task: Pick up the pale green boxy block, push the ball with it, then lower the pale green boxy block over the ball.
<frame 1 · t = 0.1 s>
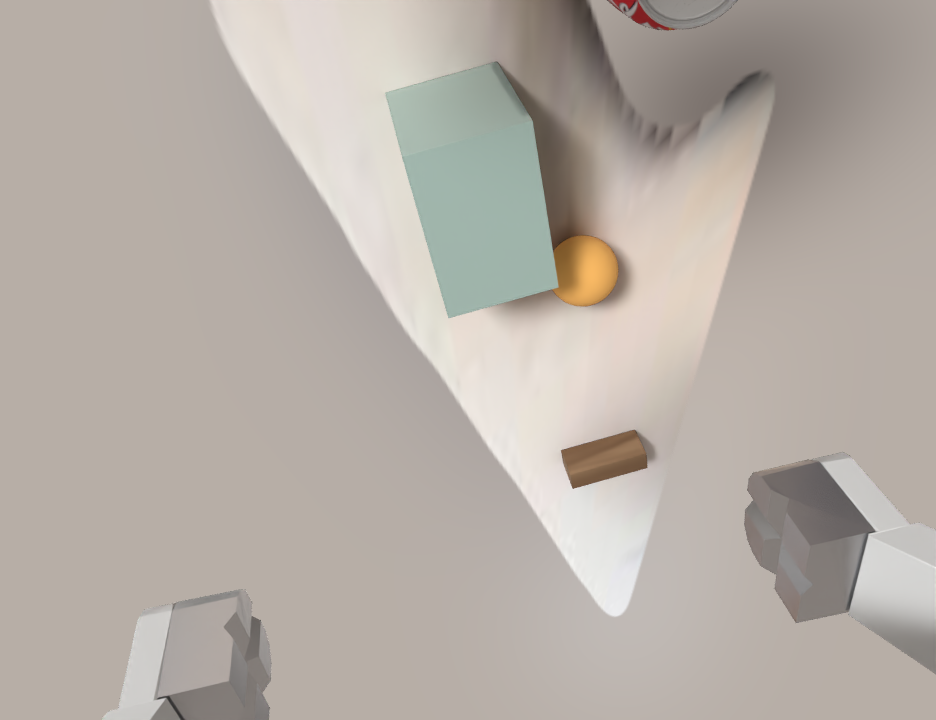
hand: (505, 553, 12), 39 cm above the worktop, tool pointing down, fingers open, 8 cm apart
ball: (582, 271, 54), on the worktop
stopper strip: (598, 447, 71), on the worktop
pale green boxy block: (460, 158, 50), on the worktop
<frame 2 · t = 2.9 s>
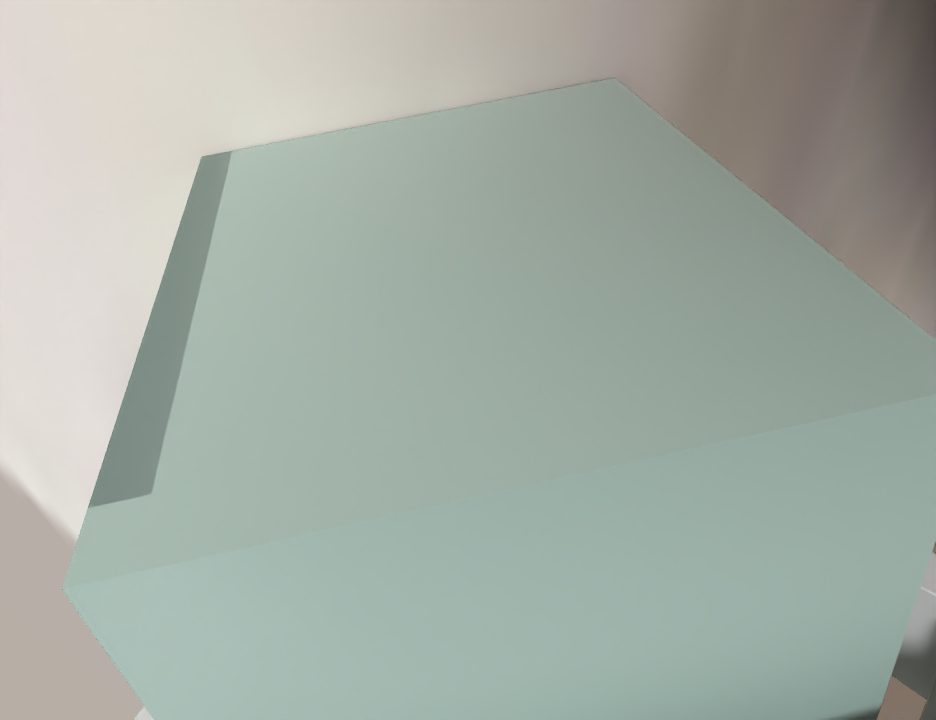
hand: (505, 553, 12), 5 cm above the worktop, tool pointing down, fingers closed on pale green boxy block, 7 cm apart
pale green boxy block: (458, 377, 16), on the worktop, touching gripper
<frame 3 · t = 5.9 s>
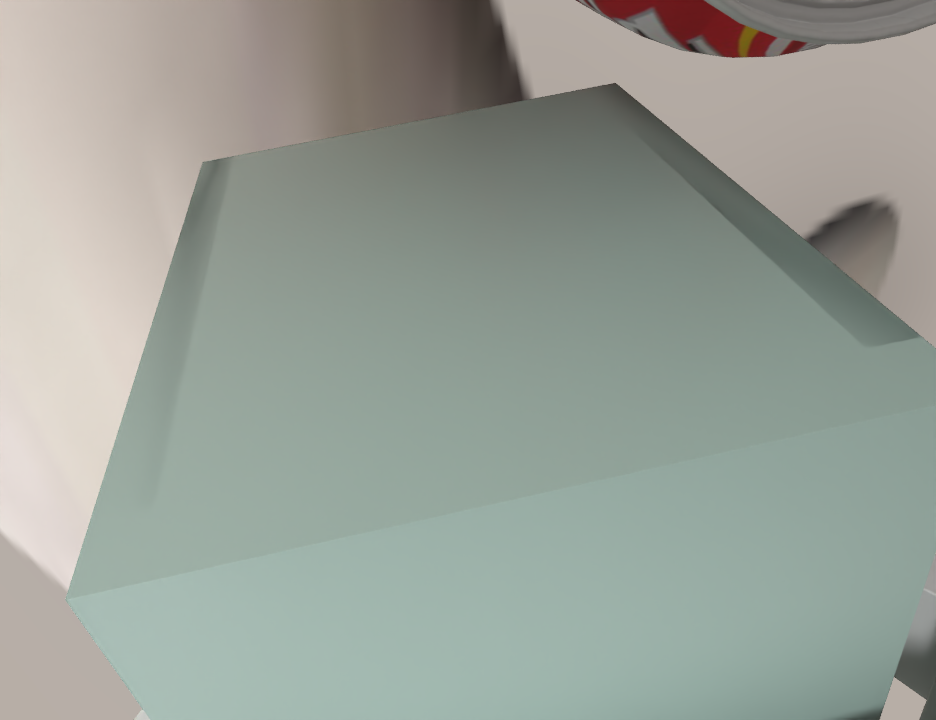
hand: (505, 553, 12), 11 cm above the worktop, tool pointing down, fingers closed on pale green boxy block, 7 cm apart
pale green boxy block: (459, 381, 16), point 7 cm above the worktop, touching gripper
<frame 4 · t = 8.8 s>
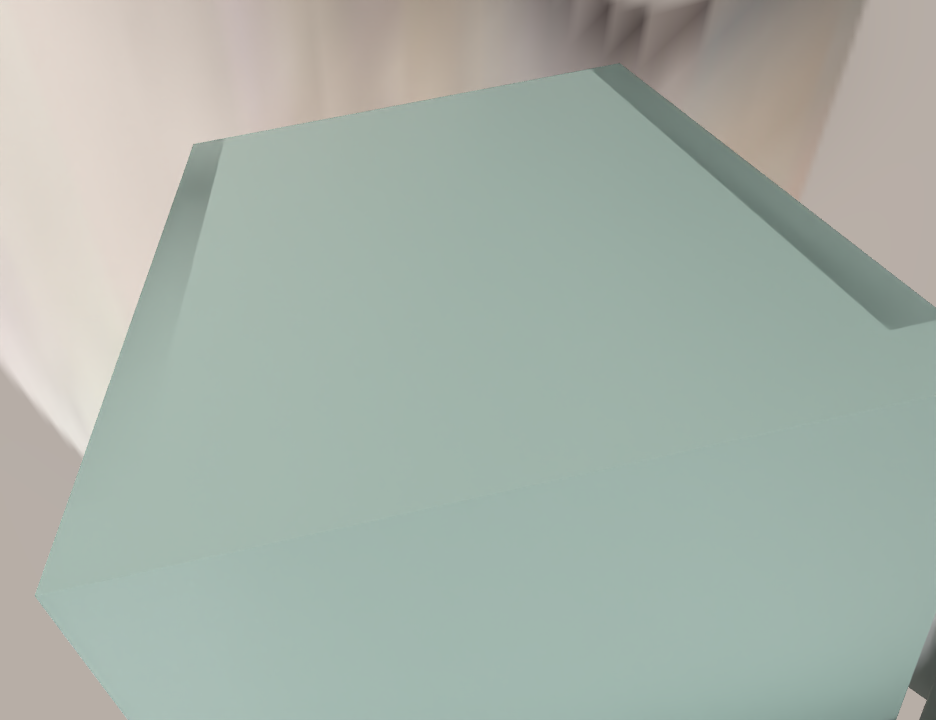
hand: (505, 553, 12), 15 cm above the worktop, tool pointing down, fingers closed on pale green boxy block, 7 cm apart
pale green boxy block: (458, 372, 16), point 10 cm above the worktop, touching gripper
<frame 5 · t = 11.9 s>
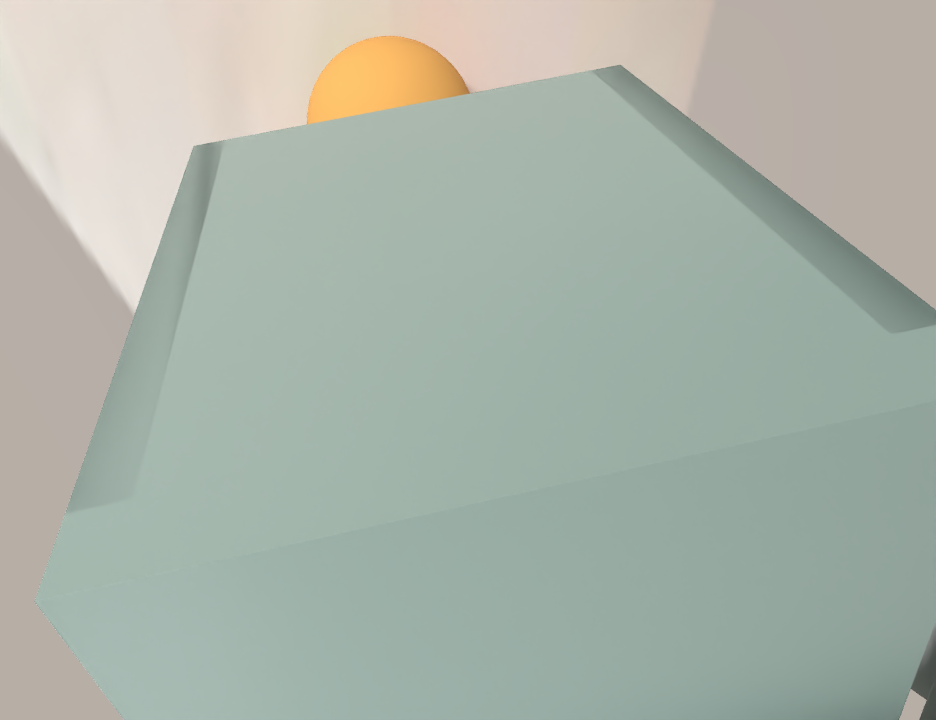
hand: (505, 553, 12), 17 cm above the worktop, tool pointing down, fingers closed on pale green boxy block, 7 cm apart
ball: (392, 126, 23), on the worktop
pale green boxy block: (458, 373, 16), point 13 cm above the worktop, touching gripper
when the fingers open (5 cm above the worktop, at t = 14.6 s): pale green boxy block stays where it is, on the worktop.
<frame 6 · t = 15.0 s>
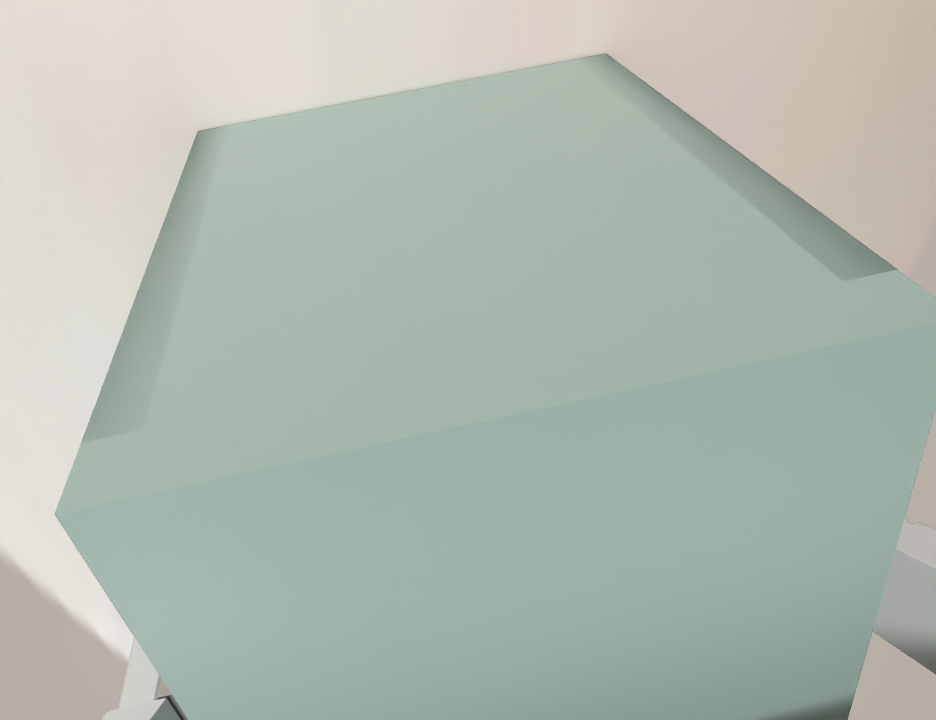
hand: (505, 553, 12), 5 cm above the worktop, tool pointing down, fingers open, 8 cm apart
pale green boxy block: (453, 355, 16), on the worktop
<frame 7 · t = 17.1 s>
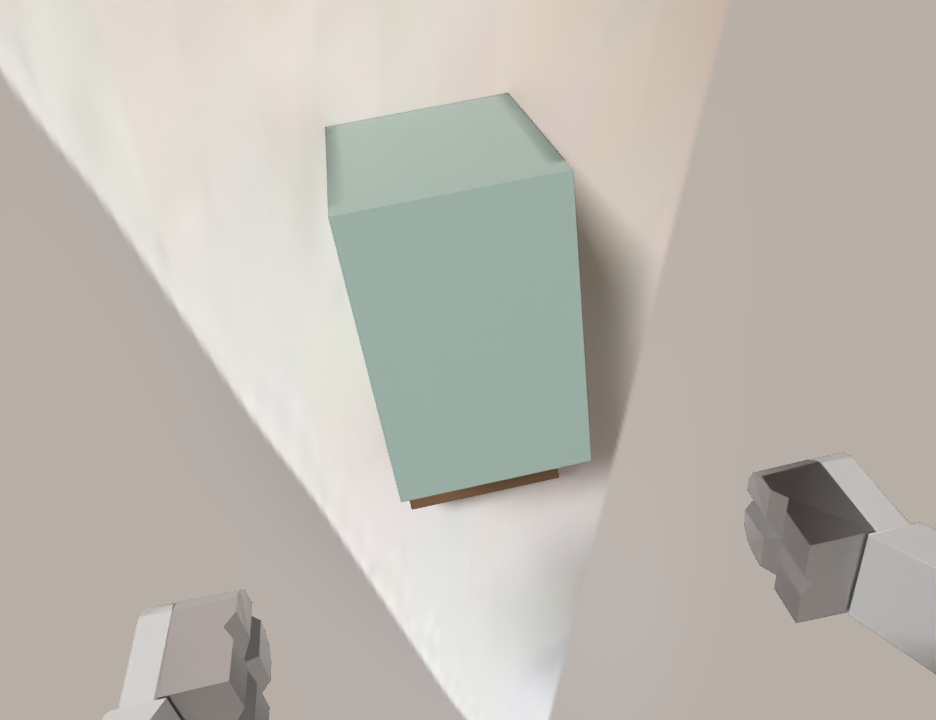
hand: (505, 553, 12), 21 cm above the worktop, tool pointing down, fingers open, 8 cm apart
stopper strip: (472, 437, 38), on the worktop
pale green boxy block: (440, 242, 32), on the worktop
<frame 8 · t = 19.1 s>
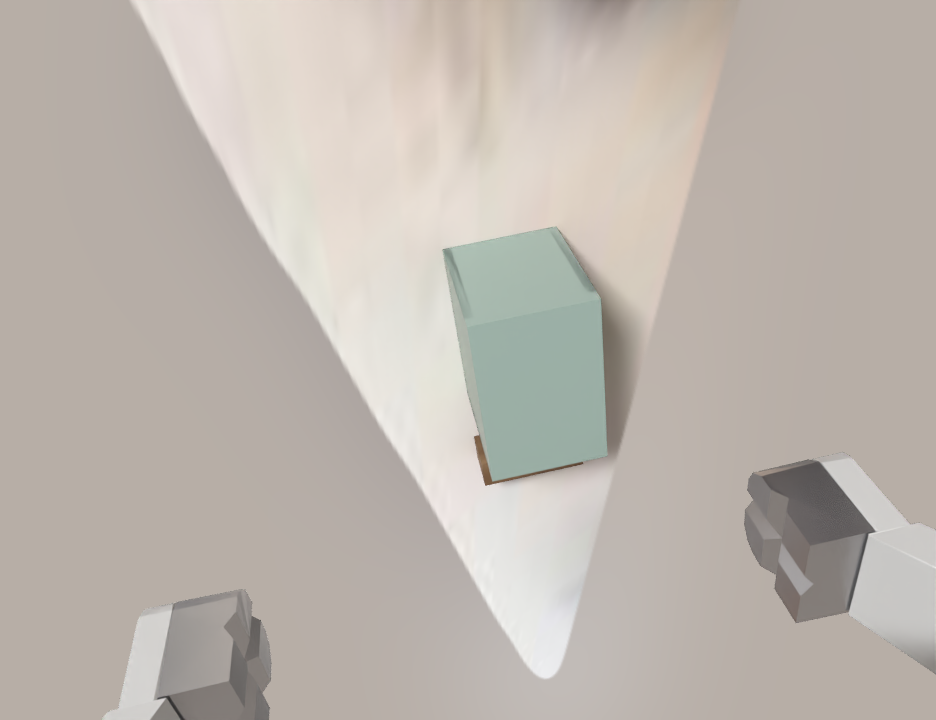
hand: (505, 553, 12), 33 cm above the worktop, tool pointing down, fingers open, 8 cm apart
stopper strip: (523, 436, 55), on the worktop
pale green boxy block: (509, 314, 49), on the worktop
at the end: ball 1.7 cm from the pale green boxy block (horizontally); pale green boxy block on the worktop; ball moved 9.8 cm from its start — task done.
